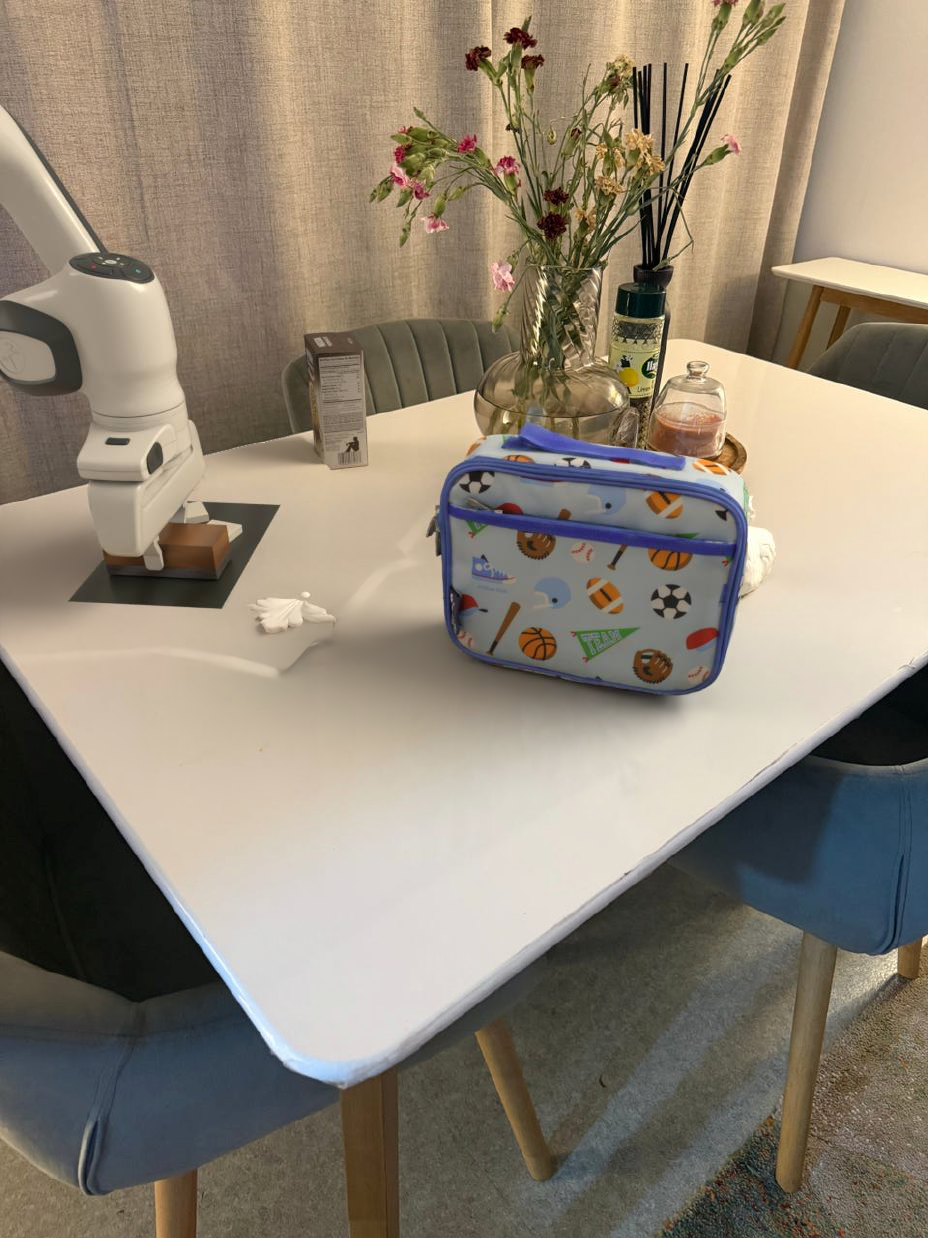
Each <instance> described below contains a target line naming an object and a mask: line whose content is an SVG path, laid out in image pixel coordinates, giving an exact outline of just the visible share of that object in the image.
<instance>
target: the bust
mask: <svg viewBox="0 0 928 1238" xmlns="http://www.w3.org/2000/svg"><path fill="white" fill-rule="evenodd" d="M753 498H754V496H753V495H750V494H749V508H748V515H747V517H748V520H747V523H748V552H747V564H746V571H745V577H744V581H743V586H742V591H741V596H745V595H748V594H749V593H751V592H752V591H756V590H757V589H758V587H759V585H760V584H761V581H763V580H764V579H765V578H766V577H768V575H769V574H770V572H771V570H772V568H773V566H774V564H775V563H776V557H777V554H776V550H775V549H776V543H775V541H774V535H773V534H772V533H771V532H770V531H768V530H767V528H763V527H756V526H750V523H751V522H752V521H753V520H754V519H755V518H756V511H755V509H754V508H753V503H752V500H753Z"/></svg>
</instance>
